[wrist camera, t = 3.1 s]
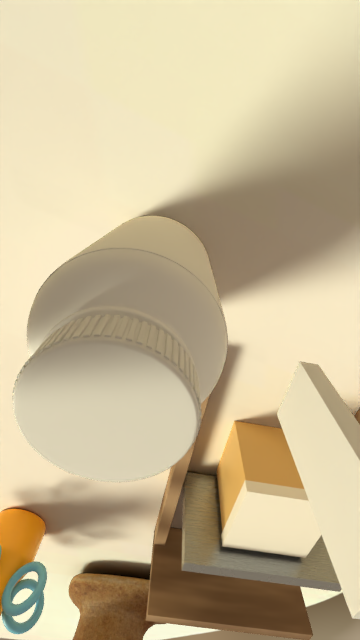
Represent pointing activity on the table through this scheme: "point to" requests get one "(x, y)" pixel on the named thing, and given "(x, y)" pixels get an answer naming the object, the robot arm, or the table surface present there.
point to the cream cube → (263, 494)
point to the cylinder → (20, 566)
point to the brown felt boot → (110, 607)
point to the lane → (215, 583)
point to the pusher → (212, 558)
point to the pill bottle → (122, 353)
